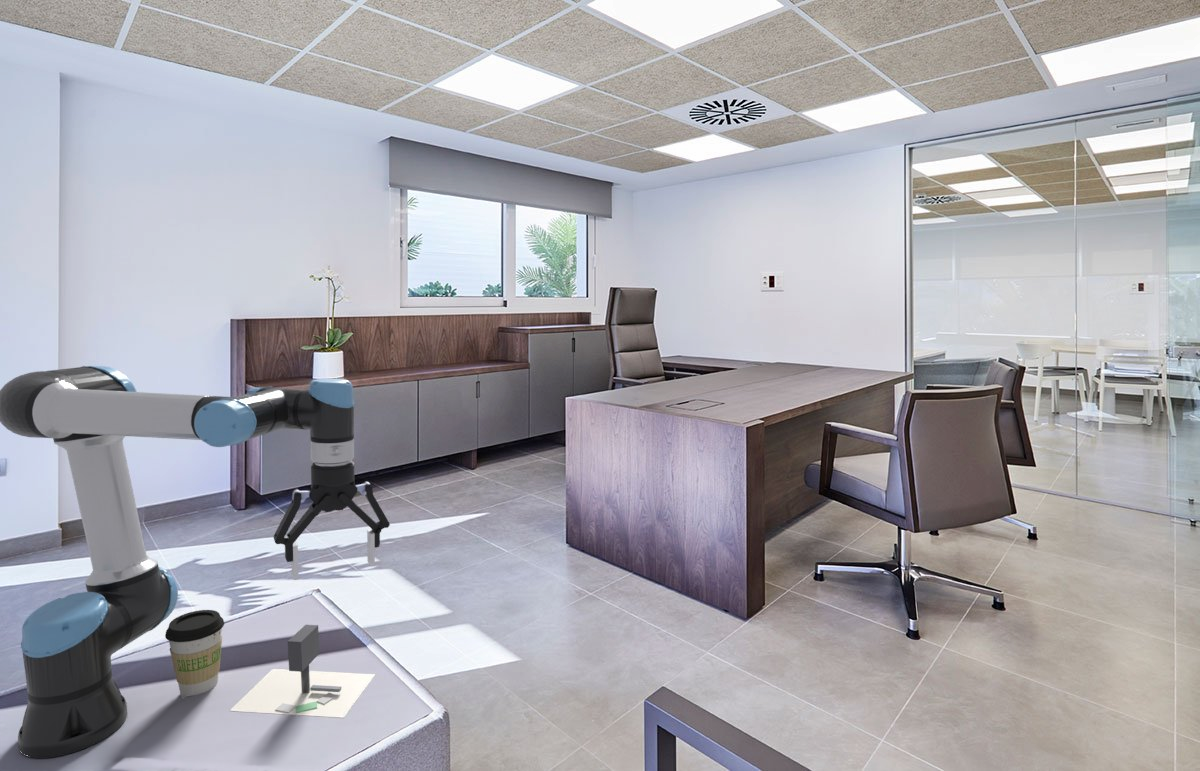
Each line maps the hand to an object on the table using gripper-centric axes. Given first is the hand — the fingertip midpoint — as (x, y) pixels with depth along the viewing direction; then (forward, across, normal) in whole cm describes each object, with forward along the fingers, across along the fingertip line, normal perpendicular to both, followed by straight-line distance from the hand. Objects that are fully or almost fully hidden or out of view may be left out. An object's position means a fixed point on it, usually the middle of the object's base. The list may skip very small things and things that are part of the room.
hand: (334, 570), depth 122 cm
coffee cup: (+27, -23, +16) cm, 39 cm away
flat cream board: (+26, -5, +3) cm, 27 cm away
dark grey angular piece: (+25, -3, +2) cm, 25 cm away
